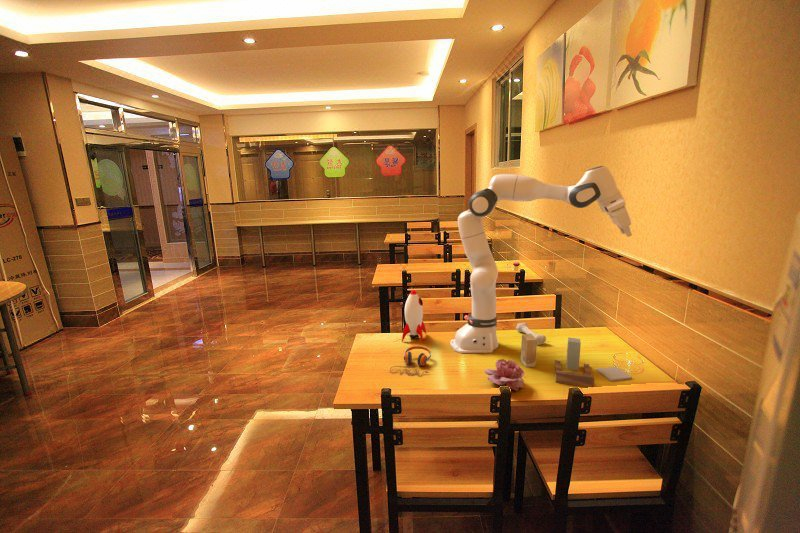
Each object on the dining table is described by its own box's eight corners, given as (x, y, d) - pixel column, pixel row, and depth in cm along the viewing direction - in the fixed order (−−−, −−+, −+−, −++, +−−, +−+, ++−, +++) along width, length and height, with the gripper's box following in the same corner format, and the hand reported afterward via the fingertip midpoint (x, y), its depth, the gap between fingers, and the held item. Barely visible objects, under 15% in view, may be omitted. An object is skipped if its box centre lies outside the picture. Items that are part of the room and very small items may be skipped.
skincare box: (520, 360, 173) (521, 334, 171) (529, 360, 174) (531, 333, 171) (525, 367, 167) (527, 339, 164) (536, 366, 167) (537, 339, 165)
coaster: (610, 381, 154) (610, 379, 154) (595, 370, 163) (595, 368, 163) (631, 378, 156) (632, 377, 156) (615, 368, 164) (616, 366, 164)
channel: (555, 362, 171) (555, 353, 170) (589, 366, 167) (589, 357, 166) (555, 382, 155) (556, 372, 154) (593, 387, 150) (593, 377, 149)
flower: (489, 390, 145) (497, 363, 144) (479, 375, 159) (486, 351, 159) (528, 399, 146) (536, 373, 145) (515, 384, 160) (522, 360, 160)
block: (566, 364, 169) (568, 337, 166) (577, 365, 167) (580, 338, 165) (566, 369, 165) (568, 341, 162) (578, 370, 163) (580, 342, 161)
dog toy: (547, 345, 189) (548, 335, 188) (536, 346, 187) (536, 336, 186) (525, 330, 208) (526, 320, 207) (514, 331, 207) (515, 322, 206)
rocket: (423, 343, 194) (422, 293, 189) (401, 342, 196) (400, 292, 191) (426, 334, 205) (426, 287, 199) (405, 333, 207) (404, 286, 201)
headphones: (387, 368, 164) (402, 339, 181) (388, 378, 166) (403, 349, 183) (427, 373, 159) (438, 343, 176) (427, 384, 161) (439, 353, 178)
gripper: (600, 205, 172) (614, 234, 172) (608, 208, 153) (624, 241, 153) (615, 198, 169) (629, 228, 170) (625, 201, 150) (641, 234, 151)
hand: (627, 234), depth 161 cm, fingers open, 8 cm apart
